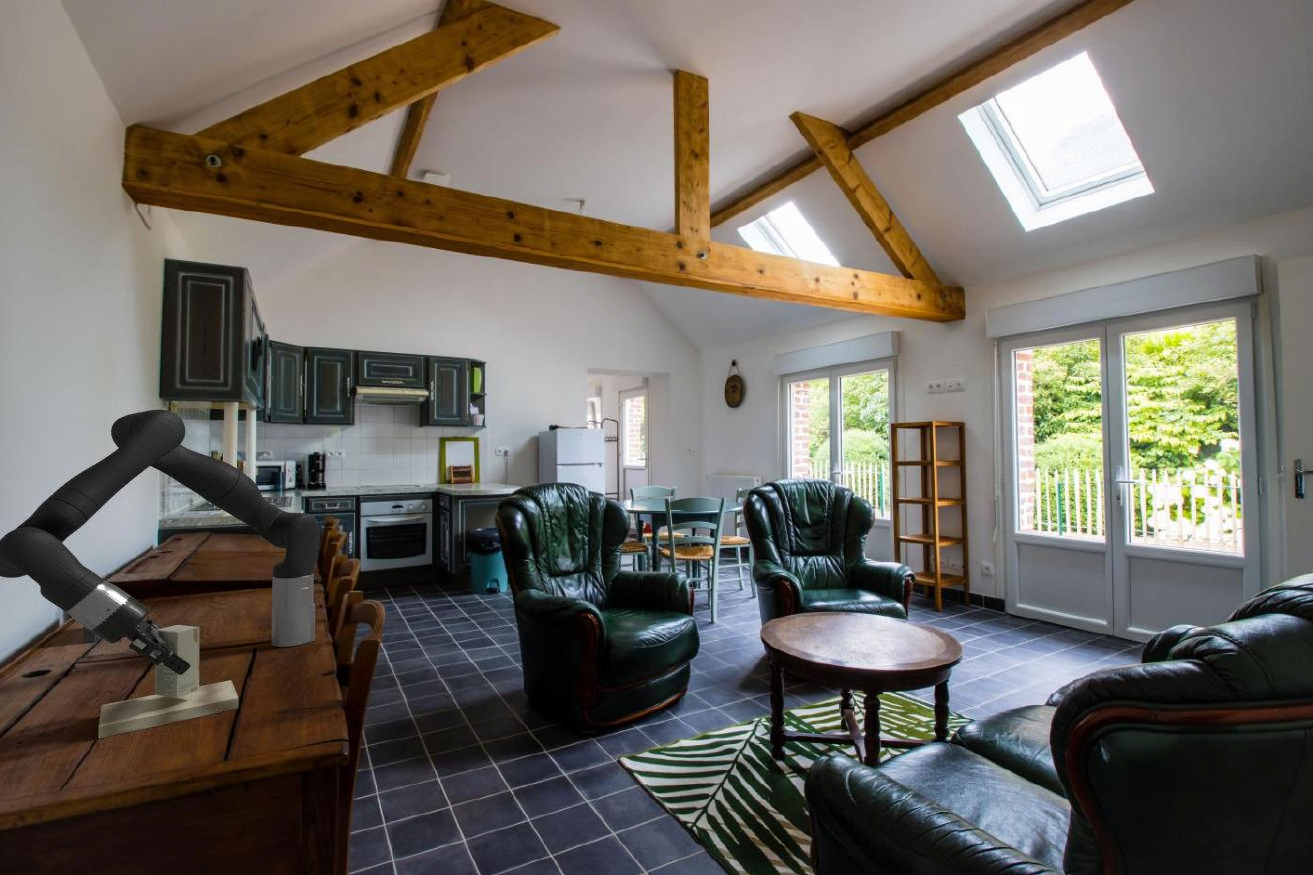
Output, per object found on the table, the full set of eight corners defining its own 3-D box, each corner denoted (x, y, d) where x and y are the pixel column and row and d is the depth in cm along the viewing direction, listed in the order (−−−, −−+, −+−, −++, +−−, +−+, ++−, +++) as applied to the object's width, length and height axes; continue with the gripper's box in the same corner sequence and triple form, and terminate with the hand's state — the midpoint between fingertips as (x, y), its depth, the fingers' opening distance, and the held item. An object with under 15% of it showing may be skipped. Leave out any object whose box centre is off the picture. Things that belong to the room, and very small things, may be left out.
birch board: (230, 689, 129) (231, 680, 129) (238, 708, 120) (238, 697, 120) (101, 715, 116) (101, 704, 116) (98, 738, 107) (98, 726, 107)
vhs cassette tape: (107, 626, 176) (107, 590, 176) (120, 625, 177) (121, 589, 178) (79, 644, 159) (81, 605, 160) (94, 643, 161) (95, 604, 161)
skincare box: (200, 690, 120) (202, 626, 120) (176, 699, 116) (178, 632, 116) (176, 686, 122) (178, 623, 122) (152, 694, 118) (154, 629, 118)
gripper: (123, 602, 109) (204, 658, 115) (133, 588, 121) (205, 639, 127) (81, 638, 106) (166, 693, 112) (95, 619, 118) (172, 670, 124)
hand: (187, 664), depth 120 cm, fingers closed on skincare box, 7 cm apart
